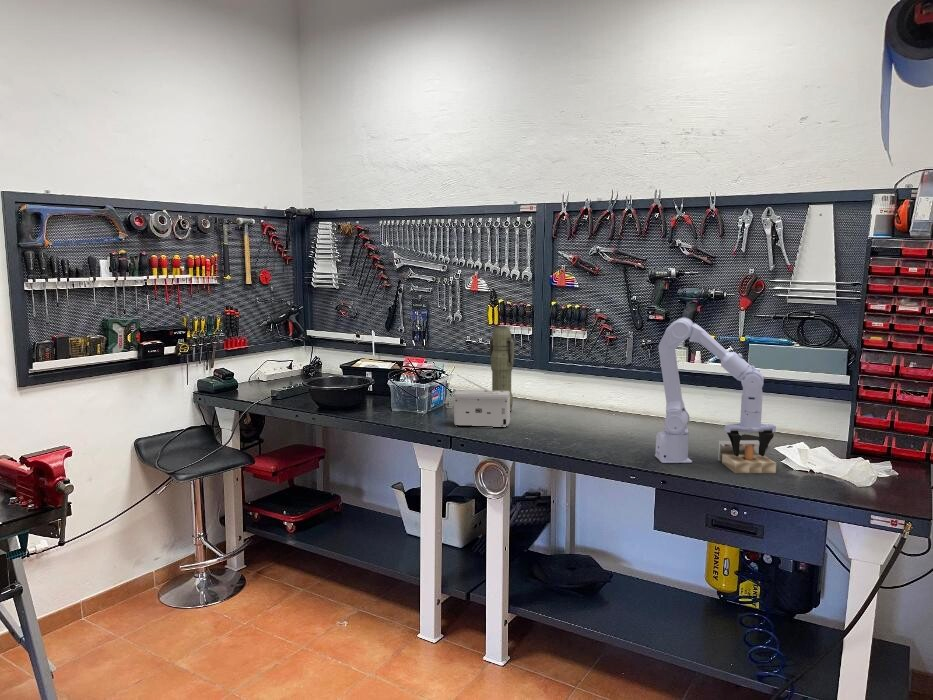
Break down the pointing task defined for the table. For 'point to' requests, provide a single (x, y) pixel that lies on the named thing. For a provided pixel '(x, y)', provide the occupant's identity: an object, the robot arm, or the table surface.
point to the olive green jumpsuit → (502, 360)
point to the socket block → (749, 463)
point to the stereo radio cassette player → (481, 407)
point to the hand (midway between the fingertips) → (748, 455)
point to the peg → (749, 452)
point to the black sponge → (749, 437)
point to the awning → (727, 448)
